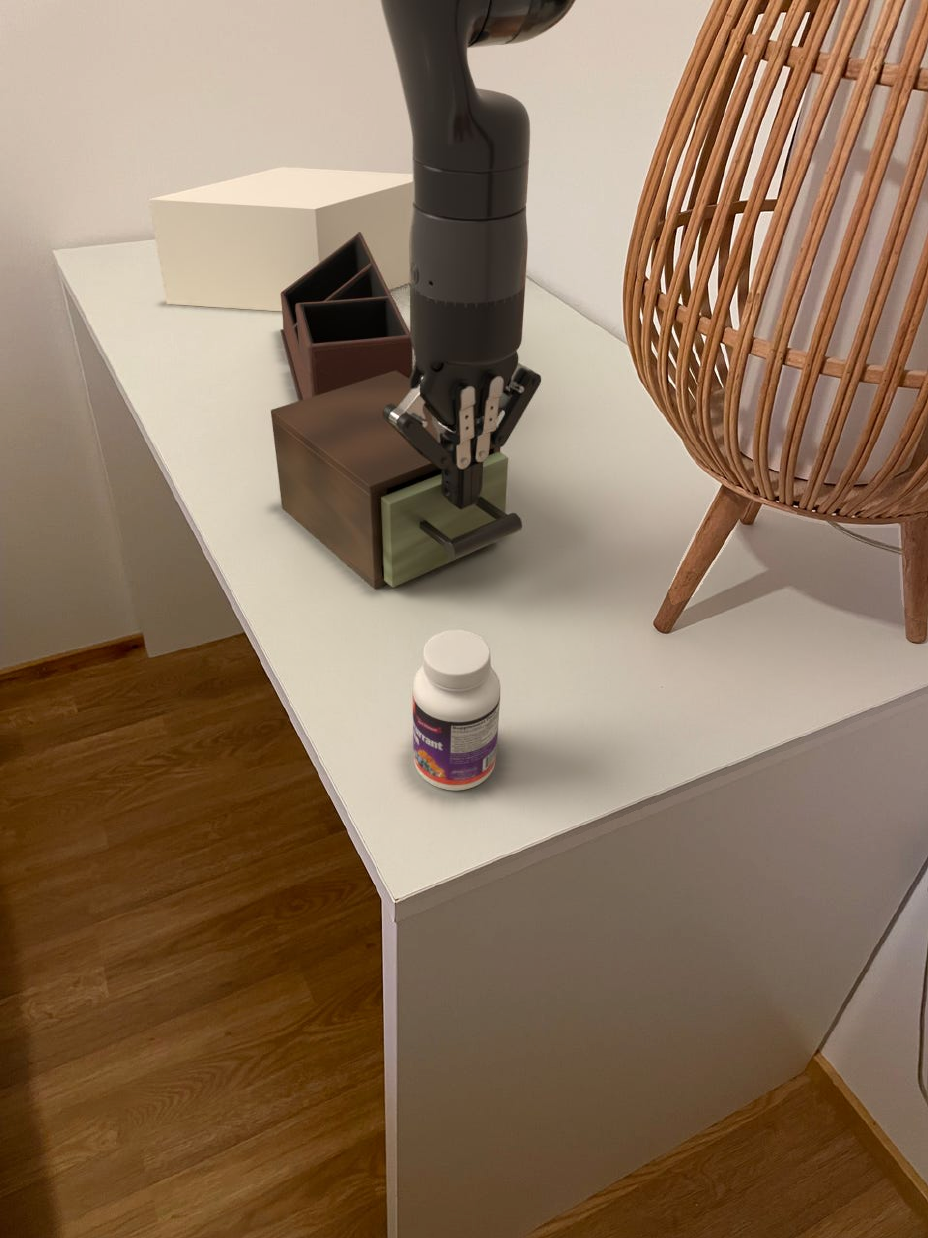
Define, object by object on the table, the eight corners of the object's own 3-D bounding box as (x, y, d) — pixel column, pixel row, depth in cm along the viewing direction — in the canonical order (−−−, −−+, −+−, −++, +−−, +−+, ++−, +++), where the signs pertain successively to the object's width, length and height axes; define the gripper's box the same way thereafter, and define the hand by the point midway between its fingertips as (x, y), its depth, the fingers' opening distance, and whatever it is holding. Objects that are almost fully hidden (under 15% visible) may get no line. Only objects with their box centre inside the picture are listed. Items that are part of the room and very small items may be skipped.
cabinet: (496, 535, 84) (501, 436, 77) (374, 589, 77) (369, 486, 71) (398, 464, 92) (395, 369, 86) (281, 507, 86) (270, 409, 80)
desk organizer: (312, 459, 92) (302, 347, 85) (280, 333, 114) (269, 235, 107) (420, 448, 95) (420, 337, 87) (368, 326, 116) (364, 229, 109)
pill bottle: (400, 745, 65) (397, 635, 58) (474, 722, 66) (478, 612, 60) (433, 804, 61) (433, 693, 55) (510, 777, 63) (518, 666, 56)
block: (158, 278, 126) (140, 177, 119) (414, 251, 136) (413, 156, 128) (176, 331, 114) (157, 223, 106) (457, 297, 124) (459, 195, 116)
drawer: (541, 565, 79) (549, 483, 74) (428, 619, 73) (428, 534, 68) (409, 470, 90) (408, 392, 85) (302, 511, 84) (294, 430, 79)
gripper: (419, 318, 57) (420, 556, 69) (582, 271, 64) (559, 495, 75) (349, 279, 62) (361, 508, 73) (508, 239, 68) (497, 455, 79)
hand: (461, 501), depth 74 cm, fingers closed
